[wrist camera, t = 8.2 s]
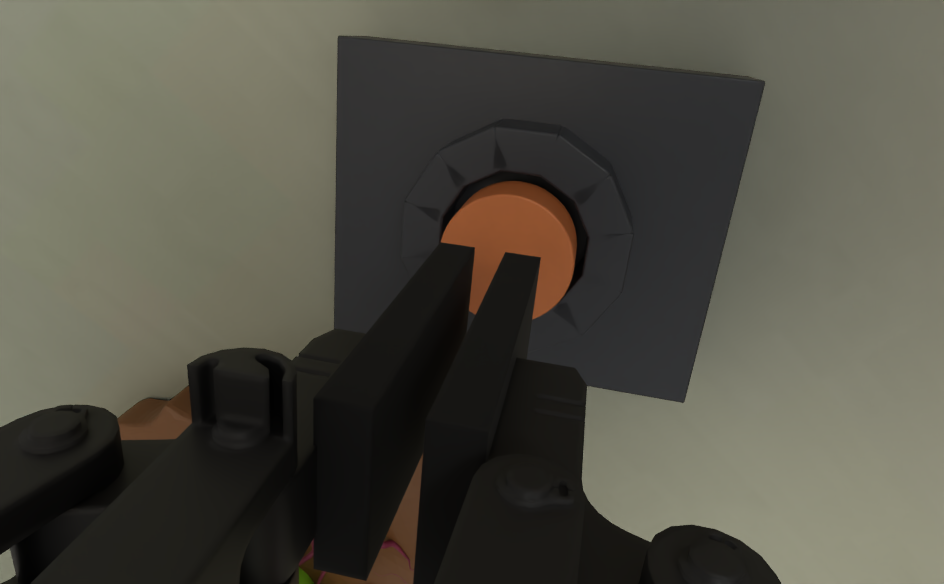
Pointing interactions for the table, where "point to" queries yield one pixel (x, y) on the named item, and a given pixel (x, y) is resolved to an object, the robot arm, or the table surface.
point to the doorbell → (559, 172)
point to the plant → (386, 577)
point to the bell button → (516, 238)
